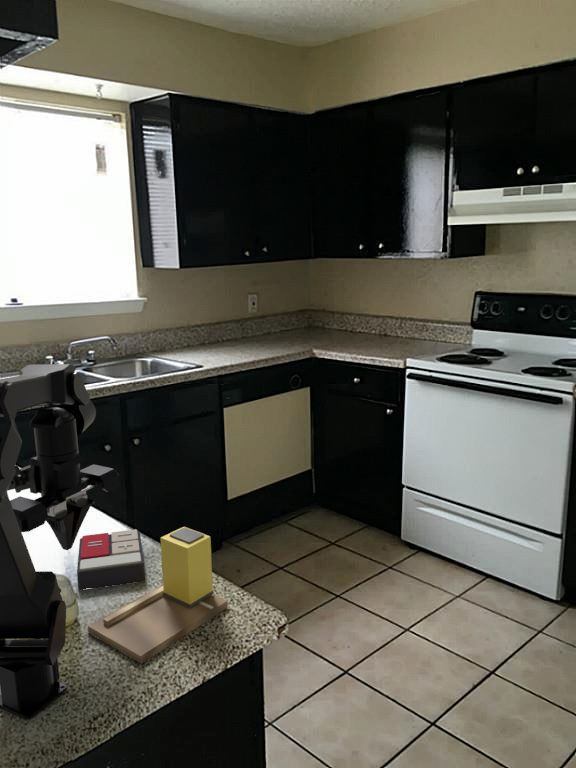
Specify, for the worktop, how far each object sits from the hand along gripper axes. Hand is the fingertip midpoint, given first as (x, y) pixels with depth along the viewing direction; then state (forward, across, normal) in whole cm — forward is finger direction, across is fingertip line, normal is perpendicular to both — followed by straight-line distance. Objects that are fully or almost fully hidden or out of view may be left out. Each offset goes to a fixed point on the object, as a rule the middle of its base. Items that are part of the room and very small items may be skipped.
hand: (67, 548), depth 99 cm
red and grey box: (+13, -16, -7) cm, 22 cm away
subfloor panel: (+12, -6, +12) cm, 18 cm away
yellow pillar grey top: (+11, -12, +13) cm, 21 cm away
